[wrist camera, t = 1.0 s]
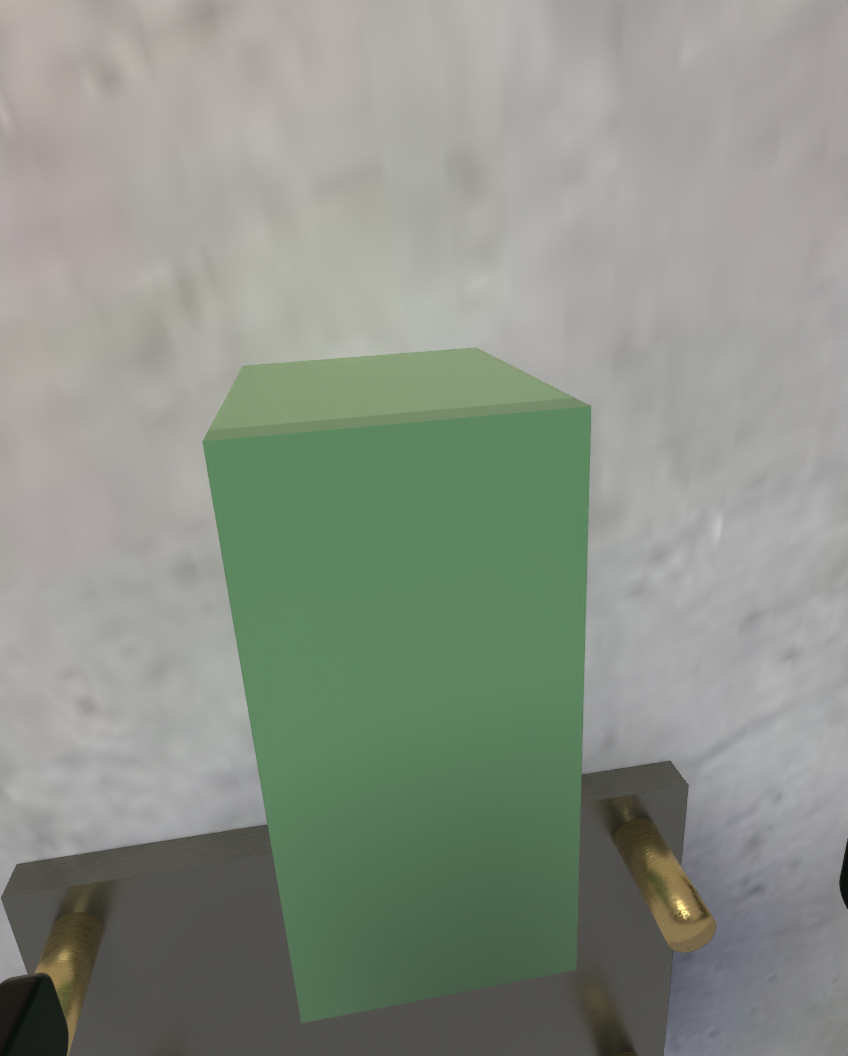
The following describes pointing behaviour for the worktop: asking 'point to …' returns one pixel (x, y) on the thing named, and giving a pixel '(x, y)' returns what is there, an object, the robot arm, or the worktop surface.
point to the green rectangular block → (411, 663)
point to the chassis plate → (265, 966)
